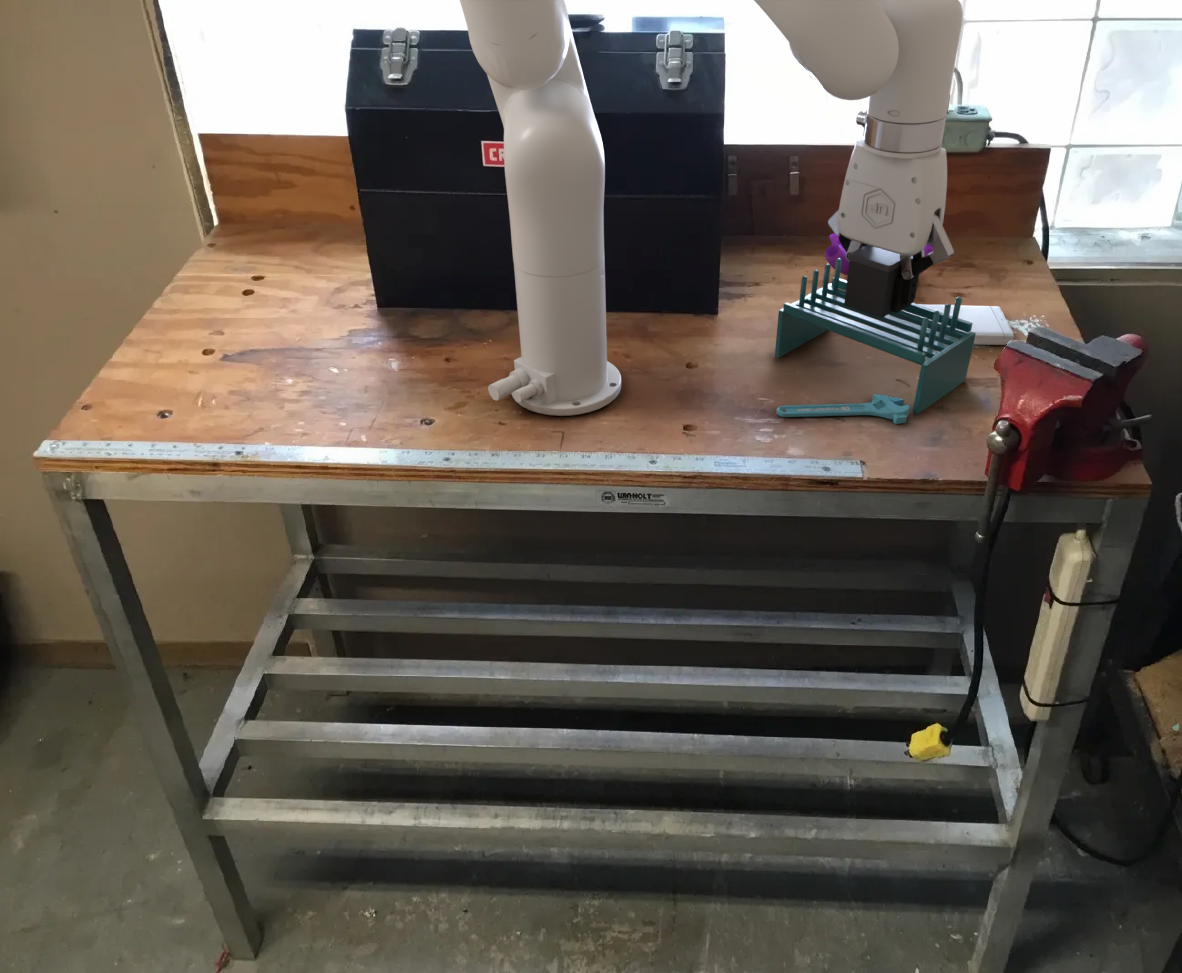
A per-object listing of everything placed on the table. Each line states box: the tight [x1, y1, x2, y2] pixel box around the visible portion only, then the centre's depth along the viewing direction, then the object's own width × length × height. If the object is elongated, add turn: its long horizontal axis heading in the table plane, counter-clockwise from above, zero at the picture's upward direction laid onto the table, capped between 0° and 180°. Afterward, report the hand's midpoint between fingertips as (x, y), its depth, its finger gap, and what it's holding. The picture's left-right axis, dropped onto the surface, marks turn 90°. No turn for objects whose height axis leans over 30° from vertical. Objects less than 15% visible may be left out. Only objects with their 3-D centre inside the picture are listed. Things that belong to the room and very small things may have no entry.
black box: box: [844, 245, 901, 318], centre depth 107 cm, size 7×5×6 cm
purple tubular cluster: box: [824, 232, 933, 277], centre depth 131 cm, size 11×15×10 cm
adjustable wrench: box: [776, 393, 911, 425], centre depth 105 cm, size 14×1×5 cm
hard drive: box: [896, 303, 1015, 346], centre depth 120 cm, size 2×8×12 cm
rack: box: [774, 258, 976, 416], centre depth 111 cm, size 10×19×10 cm, turn 43°
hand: (879, 299), depth 108 cm, fingers closed on black box, 4 cm apart
